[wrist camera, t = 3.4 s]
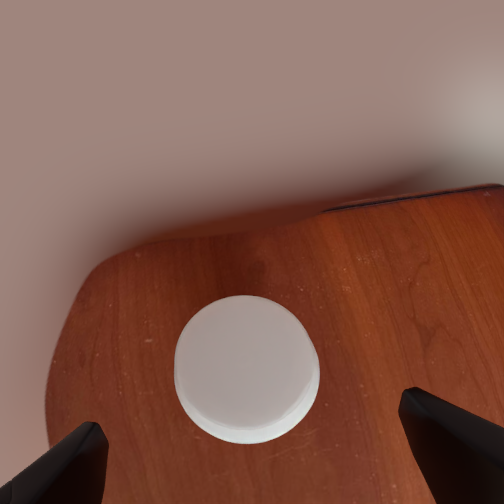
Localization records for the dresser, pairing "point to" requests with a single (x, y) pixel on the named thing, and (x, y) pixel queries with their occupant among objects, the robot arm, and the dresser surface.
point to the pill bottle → (246, 369)
